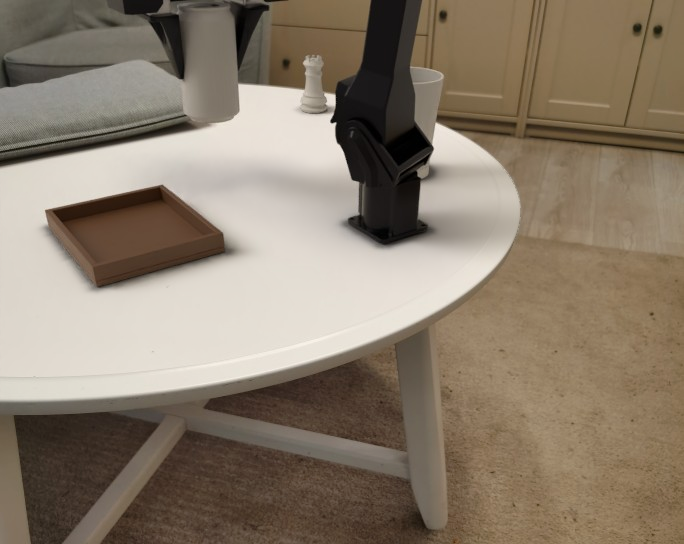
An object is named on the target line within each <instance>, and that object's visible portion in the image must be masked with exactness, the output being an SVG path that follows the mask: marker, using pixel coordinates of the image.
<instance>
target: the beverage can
mask: <svg viewBox="0 0 684 544" xmlns="http://www.w3.org/2000/svg"><path fill="white" fill-rule="evenodd" d="M176 8H177V12H176V14H178V15H179V21H180V30H181V40H182V50H183V60H184V79H182V80H180V89H181V98H182V100H181V101H182V109H183V113H184V115H186V116H187V117H189V118H190V120H191V121H193V122H195V123H200V124H219V123H220V124H221V123H227V122H230V121H232V120H233V119H234V118H235V116H237V115H238V114H239V113H240V111H241V108H240V90H239V71H238V70H237V52H236V33H235V17H234V16H233V14H232V13H231V11H230V8H231V7H230V4H227V3H224V2H223V1H222V2H220V1H184V2H179V3H177V4H176Z"/></svg>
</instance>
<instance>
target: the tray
mask: <svg viewBox="0 0 684 544" xmlns="http://www.w3.org/2000/svg"><path fill="white" fill-rule="evenodd" d="M44 213H45V217H46V221H47V226H48V228H49V230H50V232H52V234H53V235H54V236H55V237H56V239H58V241H59V242H60V243H61V245H62V246H63V247H64V248H65V249H66V251H67V252H68V254H70V256H71V257H72V258H73V259H74V261H75V262H76V263H77V264H78V266H79V267H80V268H81V270H83V272H84V273H85V274H86V276H87V277H88V278H89V280H90V281H91V282H92V283H93V284H94V286H95V287H96V288H98V287H102V286H106V285H110V284H113V283H116V282H120V281H124V280H128V279H130V278H131V279H132V278H134V277H139V276H142V275H145V274H150V273H152V272H156V271H159V270H163V269H167V268H170V267H174V266H177V265H181V264H185V263H189V262H192V261H196V260H200V259H202V258H208V257H210V256H214V255H218V254H221V253H225V252H226V248H225V237H224V235H225V234H224V232H223V231H222V230H220V229H219V228H218V227H217V226H216V225H214V224H213V223H212V222H210V221H209V220H208V219H207V218H206V217H204V216H203V215H201V214H200V213H199V212H198V211H197V210H196V209H194V208H193V207H192V206H190V204H188V203H187V202H185V201H184V200H182V198H181V197H179V196H178V195H176V194H175V193H174V192H173V191H172V190H170V189H169V188H168V187H167V186H165V185H164V184H158V185H154V186H153V185H152V186H149V187H143V188H139V189H135V190H130V191H125V192H122V193H121V192H120V193H117V194H112V195H108V196H103V197H97V198H94V199H88V200H85V201H79V202H76V203H75V202H74V203H71V204H66V205H62V206H57V207H52V208H48V209H44Z"/></svg>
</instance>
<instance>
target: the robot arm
mask: <svg viewBox="0 0 684 544" xmlns="http://www.w3.org/2000/svg"><path fill="white" fill-rule="evenodd" d="M287 1H289V0H223V1H222V3H227V4H230V7H231V8H230V11H231V13H232V14H233V16H234V17H235V33H236V52H237V70H238V72H240V69H241V68H242V64H243V61H244V59H245V55H246V53H247V50H248V47H249V44H250V42H251V39H252V37H253V34H254V32H255V30H256V28H257V26H258V24H259V21H260V19H261V17H262V15H263V13H265V12H269V11H270V8H271V7H270V5H269V4H267V3H275V2H287ZM174 2H188V0H106V3H107V7H108V9H111V10H113V11H115V12H118V13H120V14H122V15H124V16H136V17H139V18H141V19H143V20H145V21H147V23H149V25H150V26H151V28H152V29H153V31H154V33H155V35H156V36H157V38H158V40H159V41H160V43H161V44H160V45H162V48H163V50H164V52H165V54H166V57H167V58H168V61H169V63H170V65H171V68H172V70H173V72H174V74H175V76H176V78H177V79H178V80H180V81H181V80H182V79H184V60H183V50H182V40H181V30H180V21H179V15H178V14H177V13H175V12H172V6H171V3H174ZM264 2H265V3H264ZM422 5H423V0H370V3H369V10H368V17H367V23H366V30H365V36H364V42H363V43H364V44H363V50H362V57H361V62H360V65H359V68H358V70H357V71H356V73H355V74H353V75H351V76H347V77H345V78H344V79H341V80H338V81H337V83H336V87H335V92H334V93H335V95H334V97H335V104H334V105H335V107H334V111H333V114H332V117H331V118H330V120H329V122H330V124H335V127H334V137H335V142H336V144H337V145H338V146H339V147H340V149H341V150H342V152H343V155H344V159H345V162H346V166H347V169H348V172H349V176H350V179H351V181H353V182H356V183H358V207H357V208H358V211H357V212H358V213H359V214H357V215H353V216H349V217H348V218H347V224H349V225H350V226H352V227H354V228H355V229H357V230H358V231H360V232H361V233H363V234H365V235H367V236H368V237H369V238H371V239H373V240H374V241H375V242H378V243H379V244H386V243H390V242H393V241H397V240H400V239H403V238H406V237H409V236H413V235H416V234H419V233H423V232H426V231H428V230H429V224H427V223H425V222H424V221H422V220H421V219H419V208H420V199H421V198H420V196H421V185H422V179H421V178H420V177H418V172H417V170H418V169H419V168H421V167H422V166H425V165H426V164H428V162H429V163H430V161H429V159H430V160H431V157H432V155H433V152H434V150H435V147H434V145H433V143H432V144H431V143H430V141H429V140H428V138H427V137H426V136H425V134H424V133H423V132H422V130H421V129H420V127H419V126H418V125H417V123H416V122H415V91H414V86H413V82H412V77H411V73H410V67H411V61H412V57H413V51H414V47H415V41H416V35H417V30H418V25H419V21H420V20H419V19H420V16H421V15H420V14H421V9H422Z"/></svg>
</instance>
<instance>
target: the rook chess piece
mask: <svg viewBox="0 0 684 544" xmlns="http://www.w3.org/2000/svg"><path fill="white" fill-rule="evenodd" d="M324 64H325V63H324V61H323V59H322V56H321V55H320V54H319V55H315V54H311V55H306V56H305V57H304V61H302V65H303V66H304V68H305V72H304V75H305V83H304V84H305V85H304V90H303V92H302V95H301V97H300V103H301V104H300V105H299V108H300V110H301V111H302V112H304V113H307V114H318V113H319V114H321V113H325V111H327V109H328V107H329V106H328V104H327V103H328V99H327V96H325V92H324V89H323V83H322V76H323V72H322V68H323V66H324Z"/></svg>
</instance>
